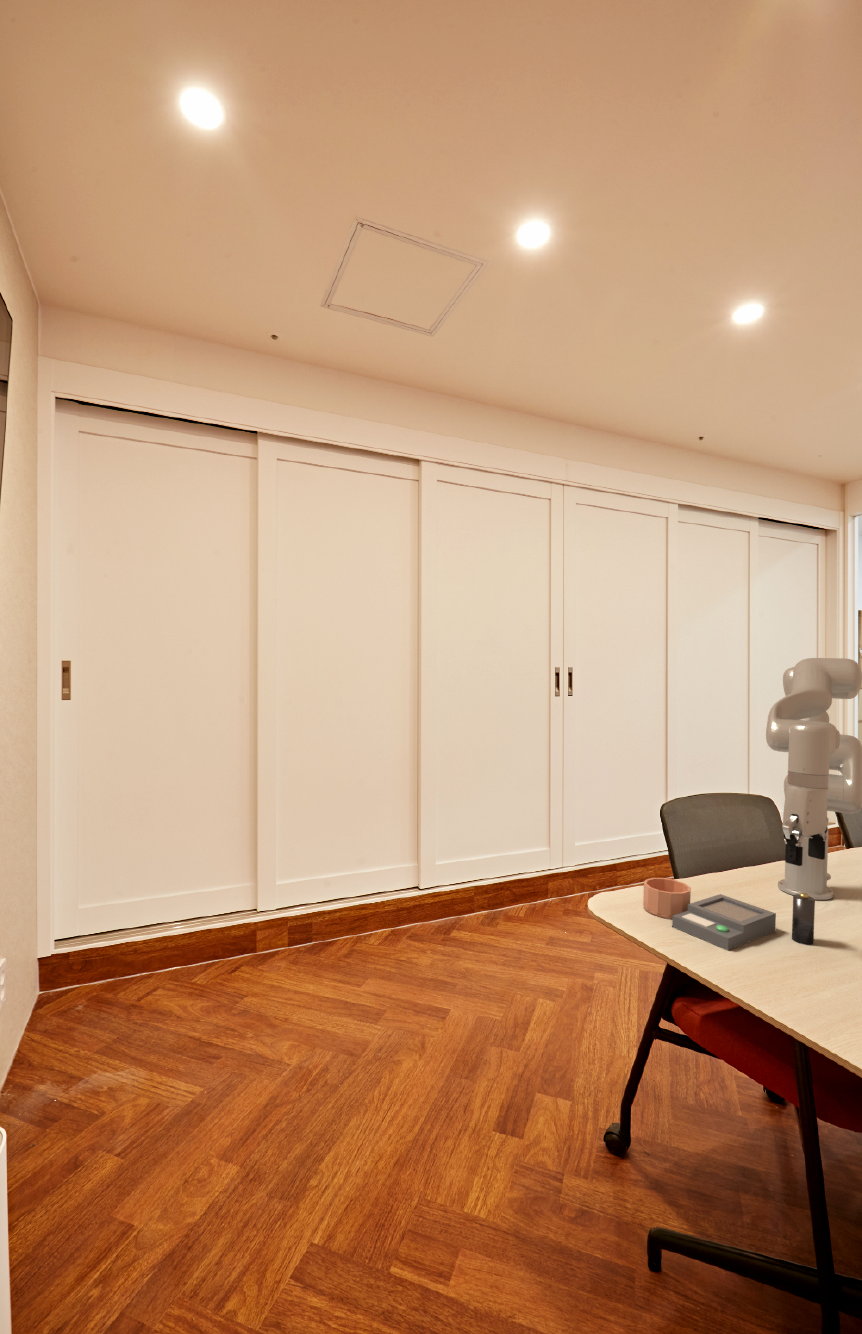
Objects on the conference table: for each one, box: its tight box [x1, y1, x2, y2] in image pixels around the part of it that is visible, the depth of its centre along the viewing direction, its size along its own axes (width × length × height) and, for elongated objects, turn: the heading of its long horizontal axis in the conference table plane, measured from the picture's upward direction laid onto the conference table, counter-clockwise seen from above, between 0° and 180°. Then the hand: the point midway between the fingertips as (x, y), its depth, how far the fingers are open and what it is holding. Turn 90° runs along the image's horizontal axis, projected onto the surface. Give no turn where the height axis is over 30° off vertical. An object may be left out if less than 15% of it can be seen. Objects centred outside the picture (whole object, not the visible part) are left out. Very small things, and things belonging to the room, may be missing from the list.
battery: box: [791, 893, 816, 946], centre depth 132 cm, size 4×4×10 cm
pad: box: [703, 900, 760, 921], centre depth 138 cm, size 9×9×1 cm
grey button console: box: [671, 893, 777, 951], centre depth 136 cm, size 18×13×4 cm
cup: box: [642, 877, 692, 920], centre depth 146 cm, size 10×10×6 cm
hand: (805, 860), depth 131 cm, fingers open, 9 cm apart
